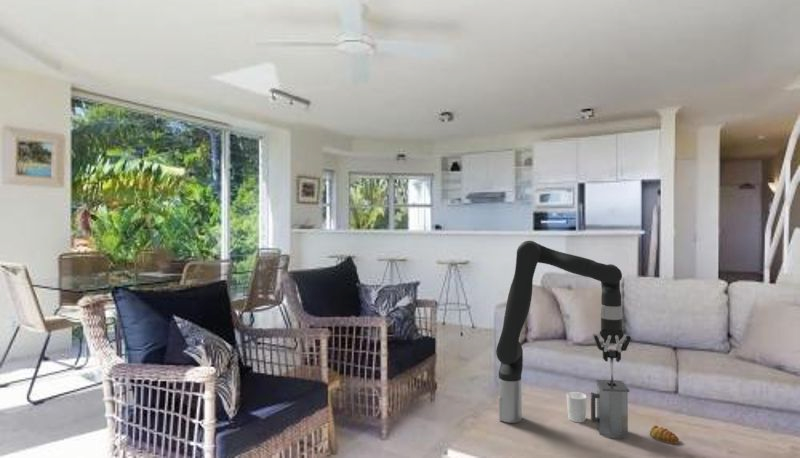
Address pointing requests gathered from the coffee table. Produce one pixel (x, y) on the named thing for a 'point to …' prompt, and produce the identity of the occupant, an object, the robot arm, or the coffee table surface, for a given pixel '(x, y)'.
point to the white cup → (576, 406)
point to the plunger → (611, 362)
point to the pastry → (663, 435)
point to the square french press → (611, 409)
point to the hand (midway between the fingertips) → (611, 360)
